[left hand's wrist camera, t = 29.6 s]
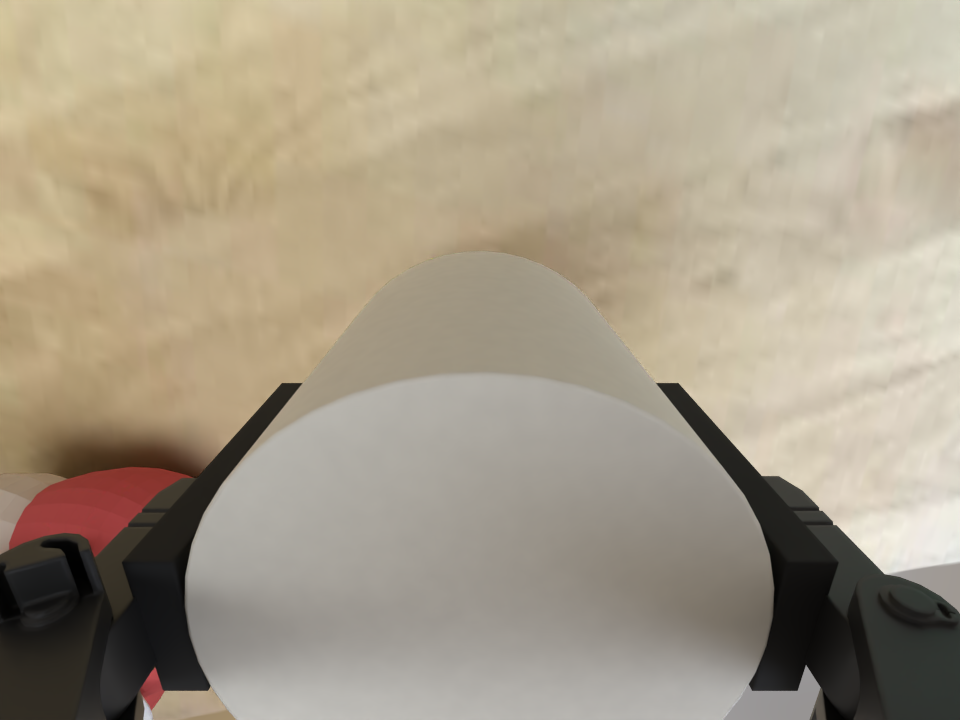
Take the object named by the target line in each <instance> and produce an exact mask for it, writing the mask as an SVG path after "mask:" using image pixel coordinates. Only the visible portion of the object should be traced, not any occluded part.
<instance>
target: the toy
mask: <svg viewBox="0 0 960 720" xmlns="http://www.w3.org/2000/svg"><path fill="white" fill-rule="evenodd" d="M181 478H193V477H191V476H188V475H185V474H181V473H177V472H173V471H169V470H165V469H161V468H146V467H125V468H118V469H111V470H104V471H96V472H91V473H87V474H84V475H80V476H77V477H73V478H69V479H67V478H64V477H61V476H57V475H53V474H49V473H4V474H1V475H0V555H1V554H2V553H4V552H6V551H8V550H10V549H12V548H14V547H16V546H18V545H20V544H22V543H25V542H28V541H31V540H34V539H37V538H40V537H43V536H47V535H53V534H60V533H73V534H80V535H82V536H83V537H85V538H86V539H88V541H89V544H90V546H91V549H92V552H93V555H94V558H95V557H96V556H97V555H98V554H99V553H100V552H101V551H102V550H103V549H104V548H105V547H106V546H107V545H108V544H109V543H110V541H111V540H112V539H113V538H114V537H115V536H116V535H117V534H118V533H119V532H120V531H121V530H122V529H123V528H124V527H128V523H129V522H130V521H131V520H132V519H133V518H134V517H135V516H136V515H137V514H138V513H141V512H142V509H143V508H144V507H145V506H146V505H147V504H148V503H149V502H150V500H151V499H152V498H153V497H154V496H155V495H156V494H157V493H158V492H160V491H161V490H163V489H165V488H166V487H168V486H170V485H171V484H173V483H175V482H176V481H178V480H179V479H181ZM140 691H141V694H142V697H143V703H144V708H145V710H144V719H143V720H153V716H152V712H151V710H152V709H153V708H154V706H155V705H156V703H157V702H158V701H159V699H160V698H161V696H162V694H163V693H164V691H163V689H162V686H161V683H160V680H159V677H158V674H157V671H156V668H155V667H154V668H153V670H152V672H151V673H150V675H149V676H148V678H147V679H146V681H145V682H144V684H143V686H142V687H141V689H140Z"/></svg>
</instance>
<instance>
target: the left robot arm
mask: <svg viewBox="0 0 960 720" xmlns="http://www.w3.org/2000/svg"><path fill="white" fill-rule="evenodd" d="M302 384H303V383H282V384H281V385H280V386H279V387H278V388H277V389H276V391H275V392H274V393H273V394H272V395H271V396H270V397H269V398H268V399H267V401H266V402H265V403H264V404H263V405H262V406H261V407H260V408H259V409H258V411H257V412H256V413H255V414H254V415H253V416H252V417H251V418H250V419H249V421H248V422H247V423H246V424H245V425H244V426H243V427H242V428H241V430H240V431H239V432H238V433H237V434H236V435H235V436H234V437H233V438H232V440H231V441H230V442H229V443H228V444H227V445H226V446H225V447H224V448H223V450H222V451H221V452H220V453H219V454H218V455H217V456H216V457H215V458H214V460H213V461H212V462H211V463H210V464H209V465H208V466H207V467H206V469H205V470H204V471H203V472H202V473H201V474H200V475H199V476H198V477H197V478H181V479H179V480H178V481H176V482H175V483H173V484H171V485H170V486H168V487H166V488H165V489H163V490H161V491H160V492H158V493H157V494H156V495H155V496H154V497H153V498H152V499H151V500H150V502H149V503H148V504H147V505H146V506H145V507H144V508H143V509H142V512H141V513H138V514H137V515H136V516H135V517H134V518H133V519H132V520H131V521H130V522H129V523H128V527H124V528H123V529H122V530H121V531H120V532H119V533H118V534H117V535H116V536H115V537H114V538H113V539H112V540H111V541H110V543H109V544H108V545H107V546H106V547H105V548H104V549H103V550H102V551H101V552H100V553H99V554H98V555H97V556H96V557H95V558H94V555H93V552H92V549H91V546H90V544H89V541H88V539H86V538H85V537H83V536H82V535H80V534H73V533H60V534H53V535H47V536H43V537H40V538H37V539H34V540H31V541H28V542H25V543H22V544H20V545H18V546H16V547H14V548H12V549H10V550H8V551H6V552H4V553H2V554H1V555H0V720H143V719H144V710H145V708H144V703H143V697H142V694H141V691H140V689H141V687H142V686H143V684H144V682H145V681H146V679H147V678H148V676H149V675H150V673H151V672H152V670H153V668H154V667H155V668H156V671H157V674H158V677H159V680H160V683H161V686H162V689H163V691H208V690H209V688H210V686H211V685H210V684H209V682H208V680H207V678H206V676H205V674H204V672H203V670H202V668H201V666H200V664H199V662H198V660H197V657H196V654H195V651H194V648H193V645H192V642H191V639H190V636H189V630H188V624H187V618H186V611H185V575H186V570H187V565H188V560H189V555H190V550H191V545H192V542H193V539H194V537H195V534H196V532H197V529H198V527H199V524H200V522H201V519H202V516H203V514H204V512H205V510H206V509H207V507H208V506H209V504H210V502H211V501H212V499H213V498H214V496H215V494H216V493H217V491H218V489H219V488H220V486H221V485H222V483H223V482H224V481H225V479H226V478H227V477H228V476H229V474H230V473H231V472H232V471H233V470H234V468H235V467H236V466H237V465H238V463H239V462H240V461H241V460H242V458H243V457H244V456H245V455H246V453H247V452H248V451H249V450H250V448H251V447H252V446H253V445H254V443H255V442H256V441H257V440H258V438H259V437H260V436H261V435H262V433H263V432H264V431H265V430H266V428H267V427H268V426H269V425H270V423H271V422H272V421H273V420H274V418H275V417H276V416H277V415H278V413H279V412H280V411H281V410H282V408H283V407H284V406H285V405H286V404H287V402H288V401H289V400H290V399H291V397H292V396H293V395H294V394H295V392H296V391H297V390H298V389H299V387H300V386H301V385H302ZM656 384H657V385H658V387H659V388H660V389H661V390H662V392H663V393H664V394H665V395H666V397H667V398H668V399H669V400H670V402H671V403H672V404H673V405H674V407H675V408H676V409H677V410H678V412H679V413H680V414H681V415H682V417H683V418H684V419H685V420H686V422H687V423H688V424H689V425H690V427H691V428H692V429H693V430H694V432H695V433H696V434H697V435H698V437H699V438H700V439H701V440H702V442H703V443H704V444H705V445H706V447H707V448H708V449H709V451H710V452H711V453H712V454H713V456H714V457H715V458H716V459H717V461H718V462H719V463H720V464H721V466H722V467H723V468H724V469H725V471H726V472H727V473H728V475H729V476H730V477H731V478H732V480H733V481H734V482H735V484H736V485H737V486H738V488H739V489H740V490H741V491H742V493H743V494H744V495H745V497H746V499H747V501H748V503H749V505H750V507H751V509H752V510H753V512H754V514H755V516H756V518H757V520H758V522H759V524H760V526H761V529H762V532H763V535H764V539H765V542H766V545H767V548H768V551H769V554H770V560H771V568H772V575H773V583H774V602H773V619H772V623H771V628H770V632H769V637H768V641H767V645H766V648H765V650H764V653H763V655H762V658H761V660H760V663H759V665H758V668H757V670H756V673H755V674H754V676H753V678H752V679H751V681H750V683H749V685H750V687H751V689H752V691H797V690H798V688H799V684H800V681H801V678H802V675H803V672H804V669H805V666H806V665H807V667H808V668H809V670H810V671H811V673H812V674H813V676H814V678H815V679H816V681H817V682H818V684H819V685H820V687H821V689H820V691H819V694H818V697H817V700H816V703H815V706H814V709H813V712H812V715H811V717H810V720H960V614H959V612H958V611H957V610H956V609H955V608H954V607H953V606H952V605H950V604H949V603H948V602H947V601H946V600H944V599H943V598H942V597H941V596H939V595H937V594H936V593H934V592H932V591H930V590H929V589H927V588H925V587H923V586H921V585H919V584H917V583H914V582H911V581H909V580H906V579H903V578H901V577H896V576H891V575H885V574H884V573H883V572H882V571H881V570H880V569H879V568H878V567H877V566H876V565H875V564H874V563H873V562H872V561H871V560H870V559H869V558H868V557H867V556H866V555H865V554H864V553H863V552H862V551H861V550H860V549H859V548H858V547H857V546H856V545H855V544H854V543H853V542H852V541H851V540H850V539H849V538H848V537H847V536H846V535H845V534H844V533H843V532H842V531H841V529H840V528H839V527H838V526H837V525H833V521H832V520H831V519H830V518H829V517H828V516H827V515H826V514H825V513H824V512H823V511H819V507H818V506H817V505H816V504H815V503H814V502H813V501H812V500H811V499H810V498H809V497H808V496H807V495H806V494H805V493H804V492H803V491H802V490H800V489H799V488H797V487H795V486H794V485H792V484H791V483H789V482H787V481H786V480H784V479H782V478H781V477H779V476H761V475H760V474H759V473H758V471H757V470H756V469H755V468H754V467H753V466H752V465H751V464H750V463H749V461H748V460H747V459H746V458H745V457H744V456H743V455H742V454H741V453H740V451H739V450H738V449H737V448H736V447H735V446H734V445H733V444H732V442H731V441H730V440H729V439H728V438H727V437H726V436H725V435H724V434H723V432H722V431H721V430H720V429H719V428H718V427H717V426H716V425H715V424H714V422H713V421H712V420H711V419H710V418H709V417H708V416H707V415H706V414H705V412H704V411H703V410H702V409H701V408H700V407H699V406H698V405H697V403H696V402H695V401H694V400H693V399H692V398H691V397H690V396H689V395H688V393H687V392H686V391H685V390H684V389H683V388H682V387H681V386H680V385H679V383H656Z"/></svg>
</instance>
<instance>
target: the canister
mask: <svg viewBox="0 0 960 720" xmlns="http://www.w3.org/2000/svg"><path fill="white" fill-rule="evenodd" d="M773 602H774V583H773V575H772V568H771V560H770V554H769V551H768V548H767V545H766V542H765V539H764V535H763V532H762V529H761V526H760V524H759V522H758V520H757V518H756V516H755V514H754V512H753V510H752V509H751V507H750V505H749V503H748V501H747V499H746V497H745V495H744V494H743V493H742V491H741V490H740V489H739V488H738V486H737V485H736V484H735V482H734V481H733V480H732V478H731V477H730V476H729V475H728V473H727V472H726V471H725V469H724V468H723V467H722V466H721V464H720V463H719V462H718V461H717V459H716V458H715V457H714V456H713V454H712V453H711V452H710V451H709V449H708V448H707V447H706V445H705V444H704V443H703V442H702V440H701V439H700V438H699V437H698V435H697V434H696V433H695V432H694V430H693V429H692V428H691V427H690V425H689V424H688V423H687V422H686V420H685V419H684V418H683V417H682V415H681V414H680V413H679V412H678V410H677V409H676V408H675V407H674V405H673V404H672V403H671V402H670V400H669V399H668V398H667V397H666V395H665V394H664V393H663V392H662V390H661V389H660V388H659V387H658V385H657V384H656V383H655V381H654V380H653V379H652V378H651V376H650V375H649V374H648V373H647V371H646V370H645V369H644V368H643V366H642V365H641V364H640V363H639V361H638V360H637V359H636V358H635V356H634V355H633V354H632V353H631V351H630V350H629V349H628V348H627V346H626V345H625V344H624V343H623V341H622V340H621V339H620V338H619V336H618V335H617V334H616V333H615V331H614V330H613V329H612V328H611V326H610V325H609V324H608V323H607V321H606V320H605V319H604V317H603V316H602V315H601V314H600V312H599V311H598V310H597V309H596V307H595V306H594V305H593V304H592V302H591V301H590V300H589V299H588V297H587V296H585V295H584V294H583V293H582V292H581V291H580V290H579V289H578V288H577V287H576V286H575V285H574V284H573V283H571V282H570V281H569V280H567V279H566V278H564V277H563V276H562V275H560V274H559V273H557V272H555V271H553V270H552V269H550V268H548V267H546V266H544V265H542V264H540V263H537V262H535V261H532V260H529V259H527V258H524V257H520V256H516V255H511V254H507V253H501V252H490V251H470V252H459V253H453V254H448V255H443V256H440V257H436V258H433V259H430V260H427V261H424V262H422V263H420V264H418V265H416V266H413V267H411V268H409V269H407V270H405V271H404V272H402V273H401V274H399V275H398V276H396V277H395V278H393V279H392V280H390V281H389V282H388V283H387V284H386V285H385V286H383V287H382V288H381V289H380V290H379V291H378V292H377V293H376V294H375V295H374V296H373V297H372V298H371V299H370V301H369V302H368V303H367V304H366V305H365V306H364V308H363V309H362V310H361V311H360V313H359V314H358V315H357V316H356V318H355V319H354V320H353V321H352V323H351V324H350V325H349V326H348V328H347V329H346V330H345V331H344V333H343V334H342V335H341V336H340V338H339V339H338V340H337V341H336V342H335V344H334V345H333V346H332V347H331V349H330V350H329V351H328V352H327V354H326V355H325V356H324V357H323V359H322V360H321V361H320V362H319V364H318V365H317V366H316V367H315V369H314V370H313V371H312V372H311V374H310V375H309V376H308V377H307V379H306V380H305V381H304V382H303V384H302V385H301V386H300V387H299V389H298V390H297V391H296V392H295V394H294V395H293V396H292V397H291V399H290V400H289V401H288V402H287V404H286V405H285V406H284V407H283V408H282V410H281V411H280V412H279V413H278V415H277V416H276V417H275V418H274V420H273V421H272V422H271V423H270V425H269V426H268V427H267V428H266V430H265V431H264V432H263V433H262V435H261V436H260V437H259V438H258V440H257V441H256V442H255V443H254V445H253V446H252V447H251V448H250V450H249V451H248V452H247V453H246V455H245V456H244V457H243V458H242V460H241V461H240V462H239V463H238V465H237V466H236V467H235V468H234V470H233V471H232V472H231V473H230V474H229V476H228V477H227V478H226V479H225V481H224V482H223V483H222V485H221V486H220V488H219V489H218V491H217V493H216V494H215V496H214V498H213V499H212V501H211V502H210V504H209V506H208V507H207V509H206V510H205V512H204V514H203V516H202V519H201V522H200V524H199V527H198V529H197V532H196V534H195V537H194V539H193V542H192V545H191V550H190V555H189V560H188V565H187V570H186V575H185V611H186V618H187V624H188V630H189V636H190V639H191V642H192V645H193V648H194V651H195V654H196V657H197V660H198V662H199V664H200V666H201V668H202V670H203V672H204V674H205V676H206V678H207V680H208V682H209V684H210V685H211V687H212V689H213V690H214V692H215V693H216V694H217V696H218V697H219V699H220V700H221V701H222V703H223V704H224V706H225V707H226V708H227V710H228V711H229V712H230V713H231V714H232V715H233V716H234V717H235V719H236V720H723V719H724V718H725V716H726V715H727V714H728V713H729V711H730V710H731V709H732V708H733V706H734V705H735V704H736V703H737V701H738V700H739V699H740V698H741V696H742V694H743V693H744V691H745V689H746V688H747V686H748V684H749V683H750V681H751V679H752V678H753V676H754V674H755V673H756V670H757V668H758V665H759V663H760V660H761V658H762V655H763V653H764V650H765V648H766V645H767V641H768V637H769V632H770V628H771V623H772V619H773Z"/></svg>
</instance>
